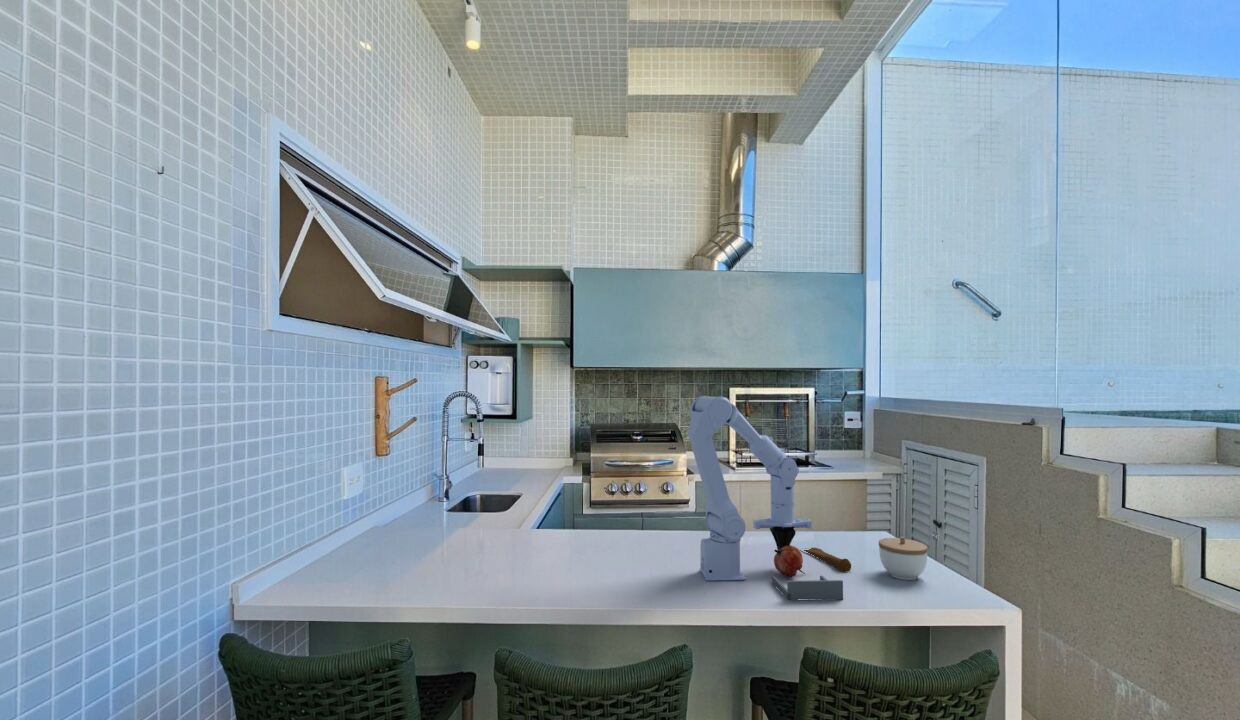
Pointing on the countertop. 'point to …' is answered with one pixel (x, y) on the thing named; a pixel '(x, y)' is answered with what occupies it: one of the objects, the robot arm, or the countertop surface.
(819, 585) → the box
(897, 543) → the lidded jar
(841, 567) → the primitive tool
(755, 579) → the countertop surface
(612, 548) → the countertop surface
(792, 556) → the pomegranate
